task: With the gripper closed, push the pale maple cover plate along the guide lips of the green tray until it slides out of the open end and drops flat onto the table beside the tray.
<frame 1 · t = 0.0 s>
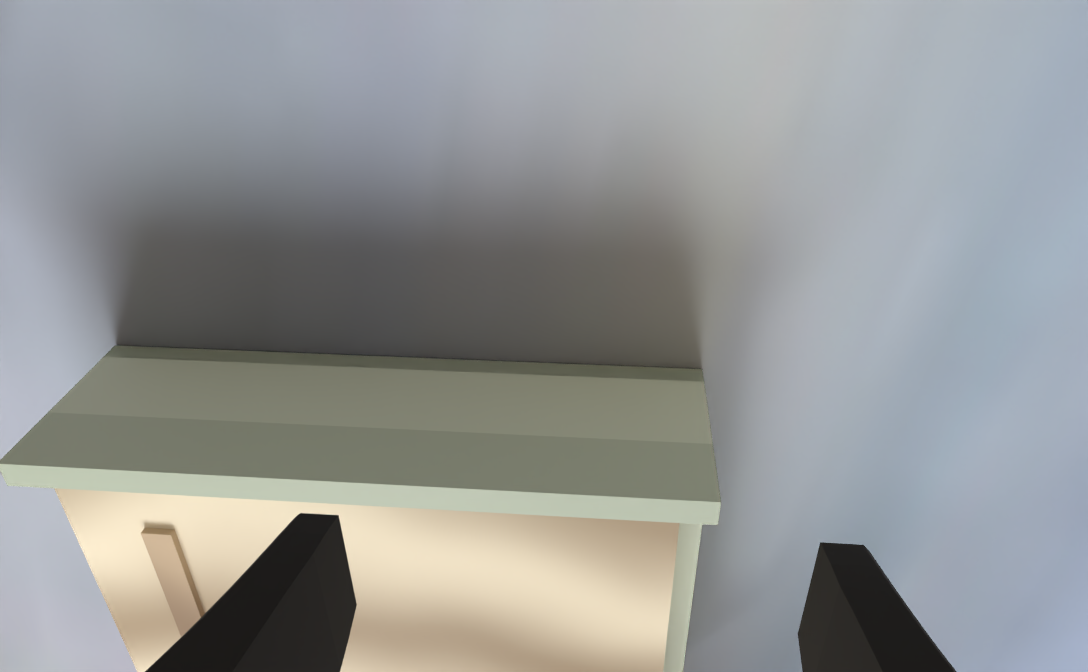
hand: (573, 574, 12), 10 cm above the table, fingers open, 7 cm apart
cover plate: (397, 601, 23), point 3 cm above the table, touching green tray
green tray: (421, 522, 26), on the table
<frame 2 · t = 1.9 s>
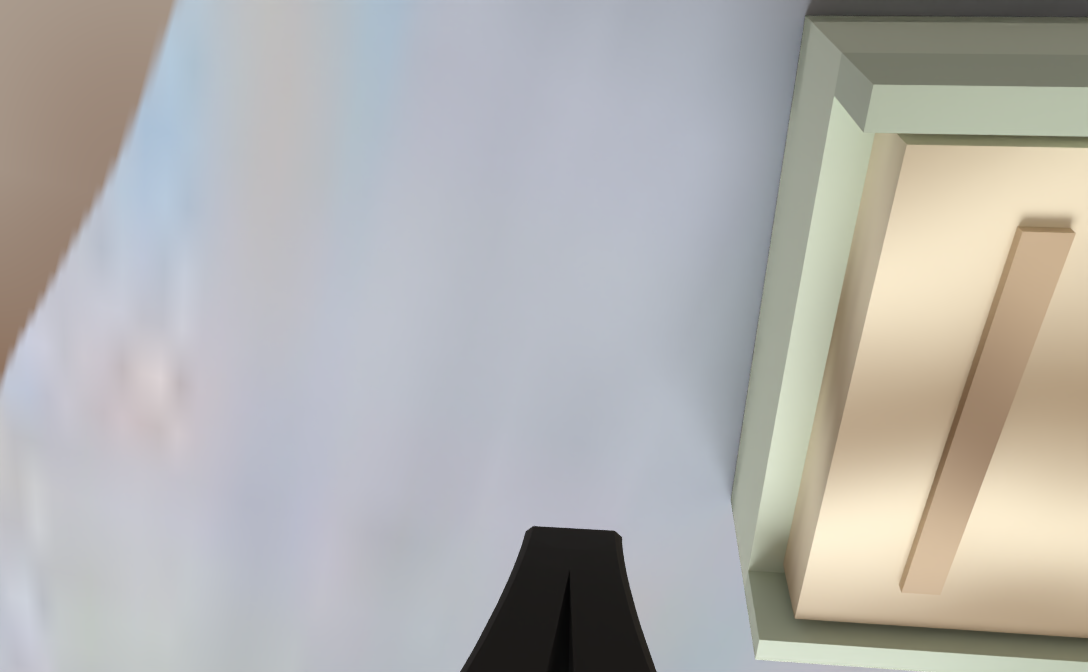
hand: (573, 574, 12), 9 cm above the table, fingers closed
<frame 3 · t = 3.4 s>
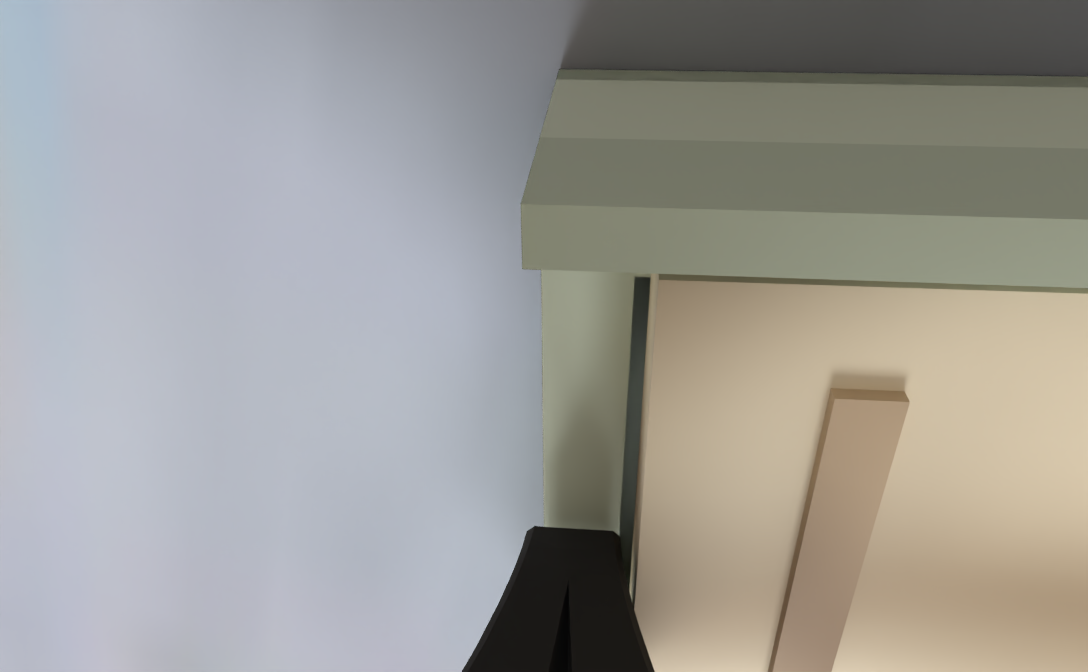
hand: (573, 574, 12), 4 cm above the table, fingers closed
green tray: (1013, 433, 15), on the table
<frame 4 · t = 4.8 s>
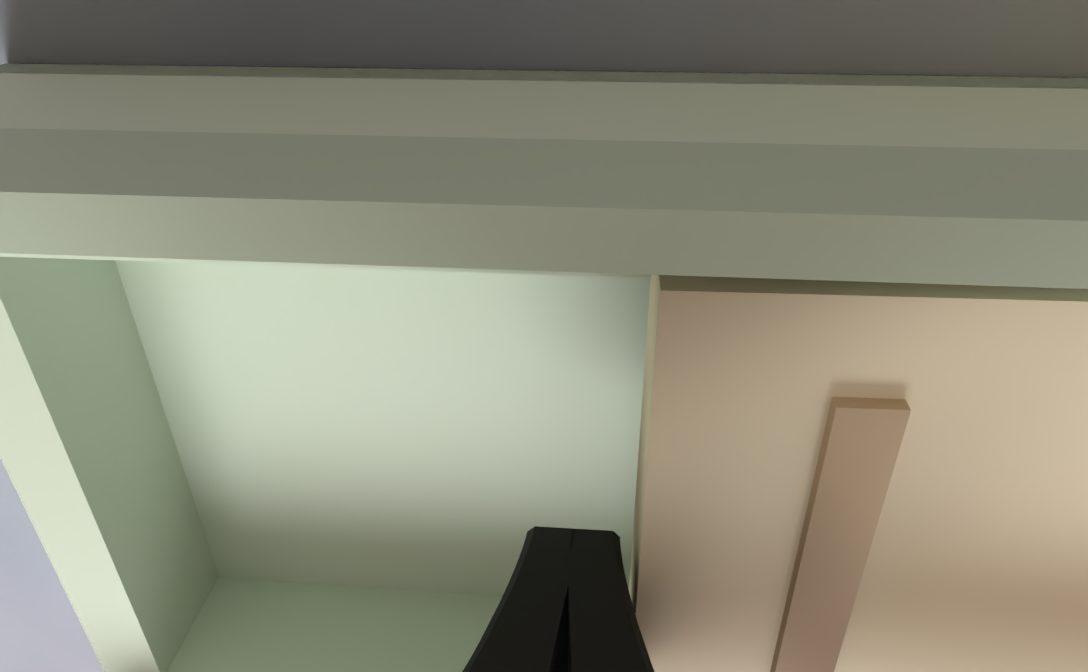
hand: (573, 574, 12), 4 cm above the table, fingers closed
green tray: (538, 411, 16), on the table
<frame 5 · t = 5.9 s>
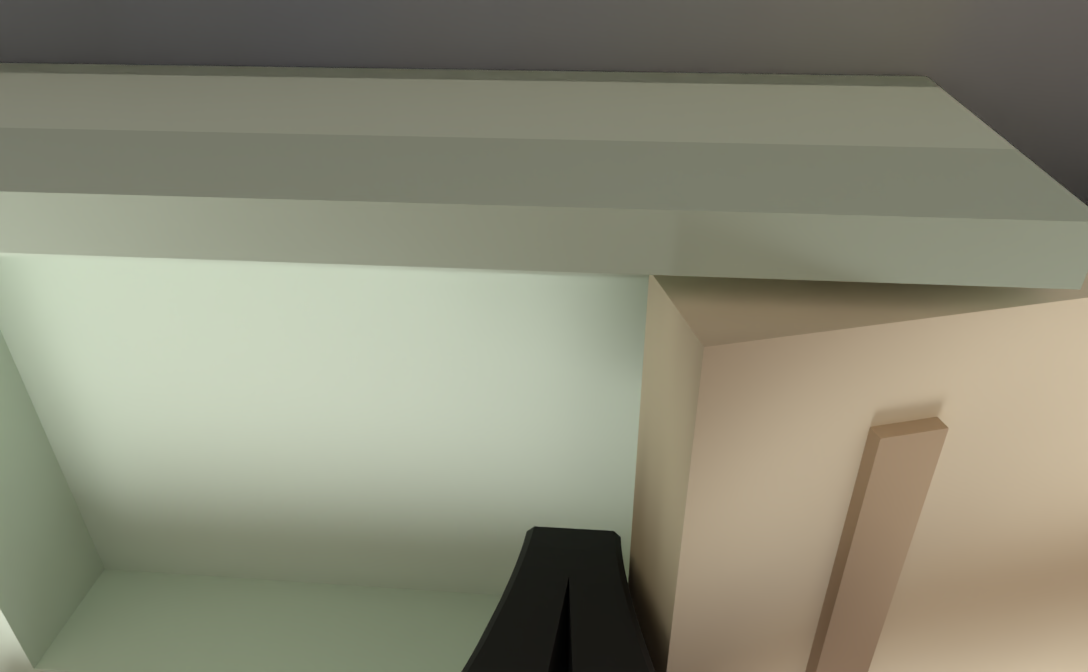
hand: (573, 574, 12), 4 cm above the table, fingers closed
cover plate: (1079, 520, 13), point 2 cm above the table, tilted 17°
green tray: (401, 404, 16), on the table
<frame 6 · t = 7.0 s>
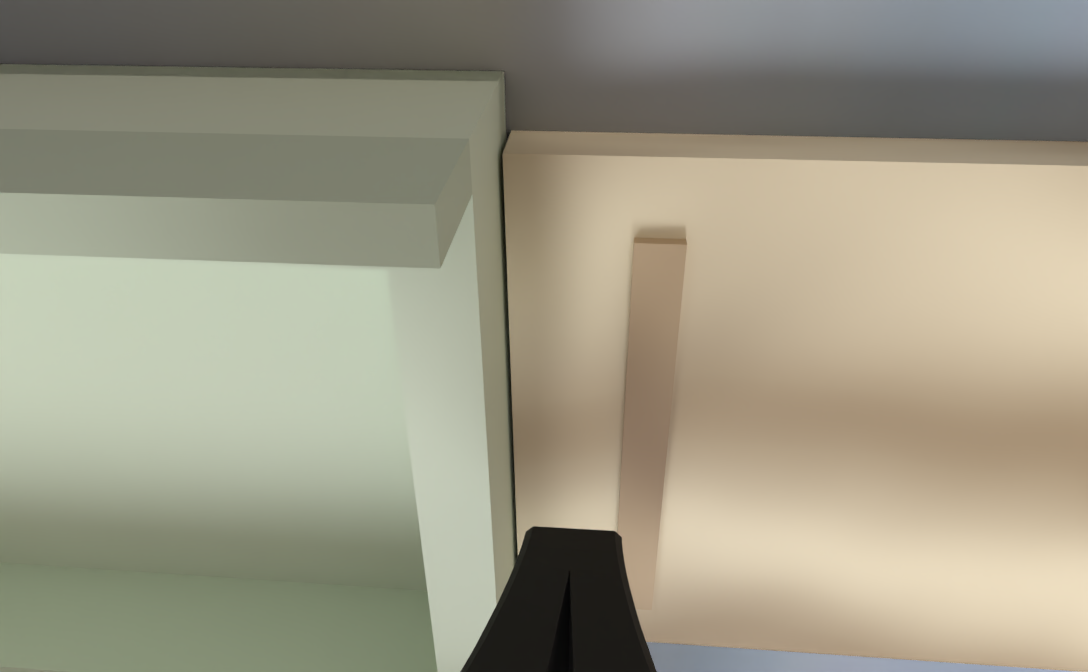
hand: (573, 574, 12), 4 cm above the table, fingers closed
cover plate: (916, 407, 15), on the table
green tray: (102, 390, 16), on the table
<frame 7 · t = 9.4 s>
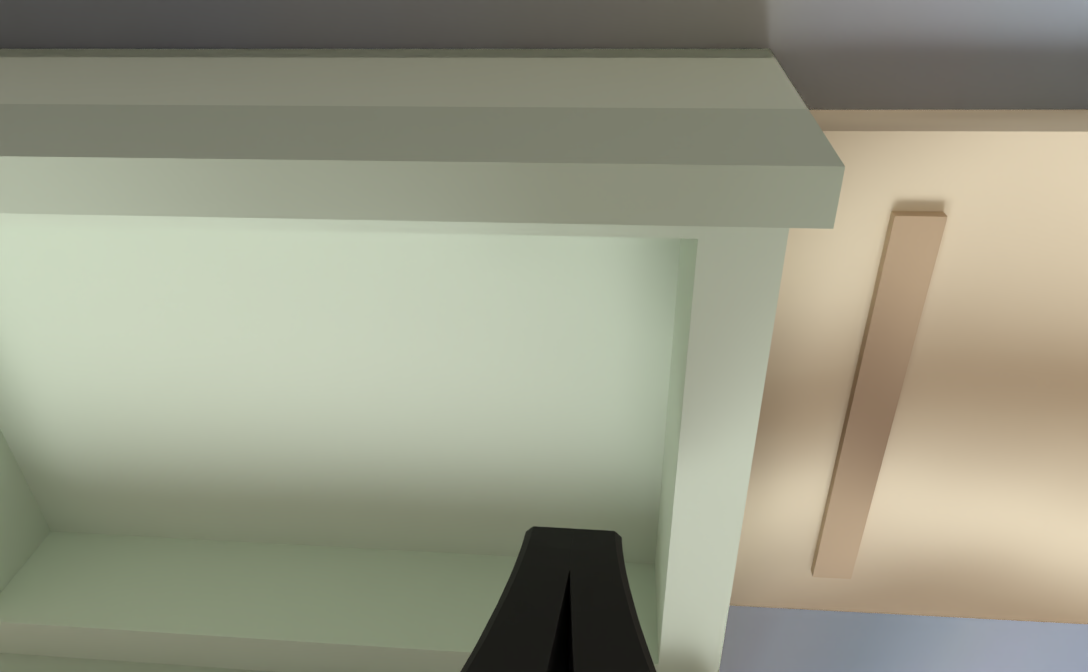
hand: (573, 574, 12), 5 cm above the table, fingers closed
green tray: (316, 368, 17), on the table
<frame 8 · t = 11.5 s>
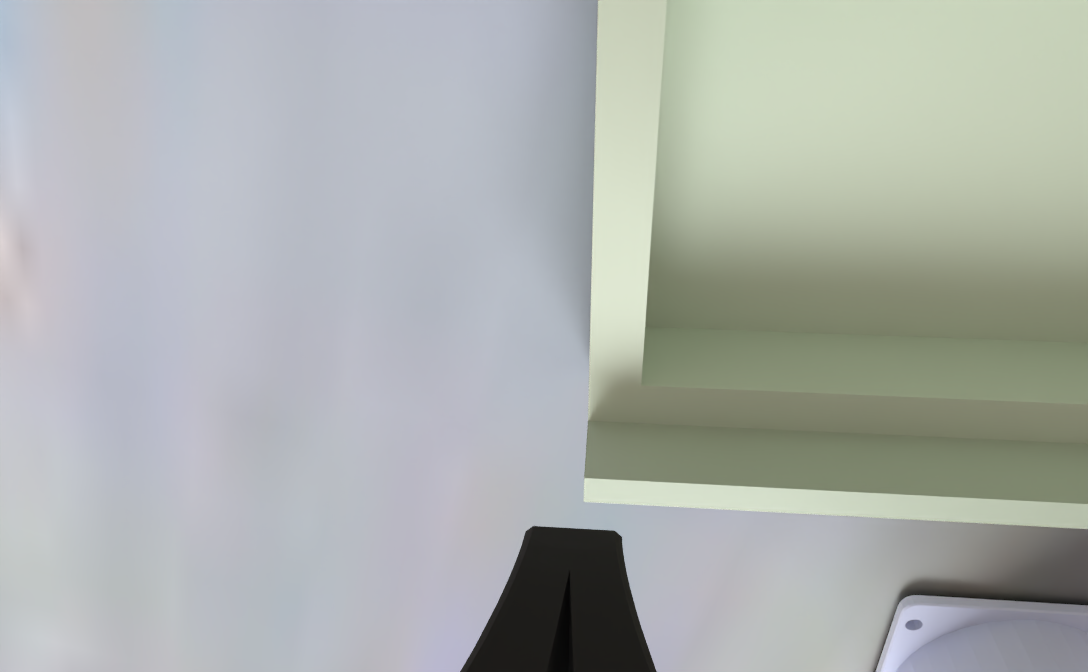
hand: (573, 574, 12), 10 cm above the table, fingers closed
green tray: (976, 146, 18), on the table
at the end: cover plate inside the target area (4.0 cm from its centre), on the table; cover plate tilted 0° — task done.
